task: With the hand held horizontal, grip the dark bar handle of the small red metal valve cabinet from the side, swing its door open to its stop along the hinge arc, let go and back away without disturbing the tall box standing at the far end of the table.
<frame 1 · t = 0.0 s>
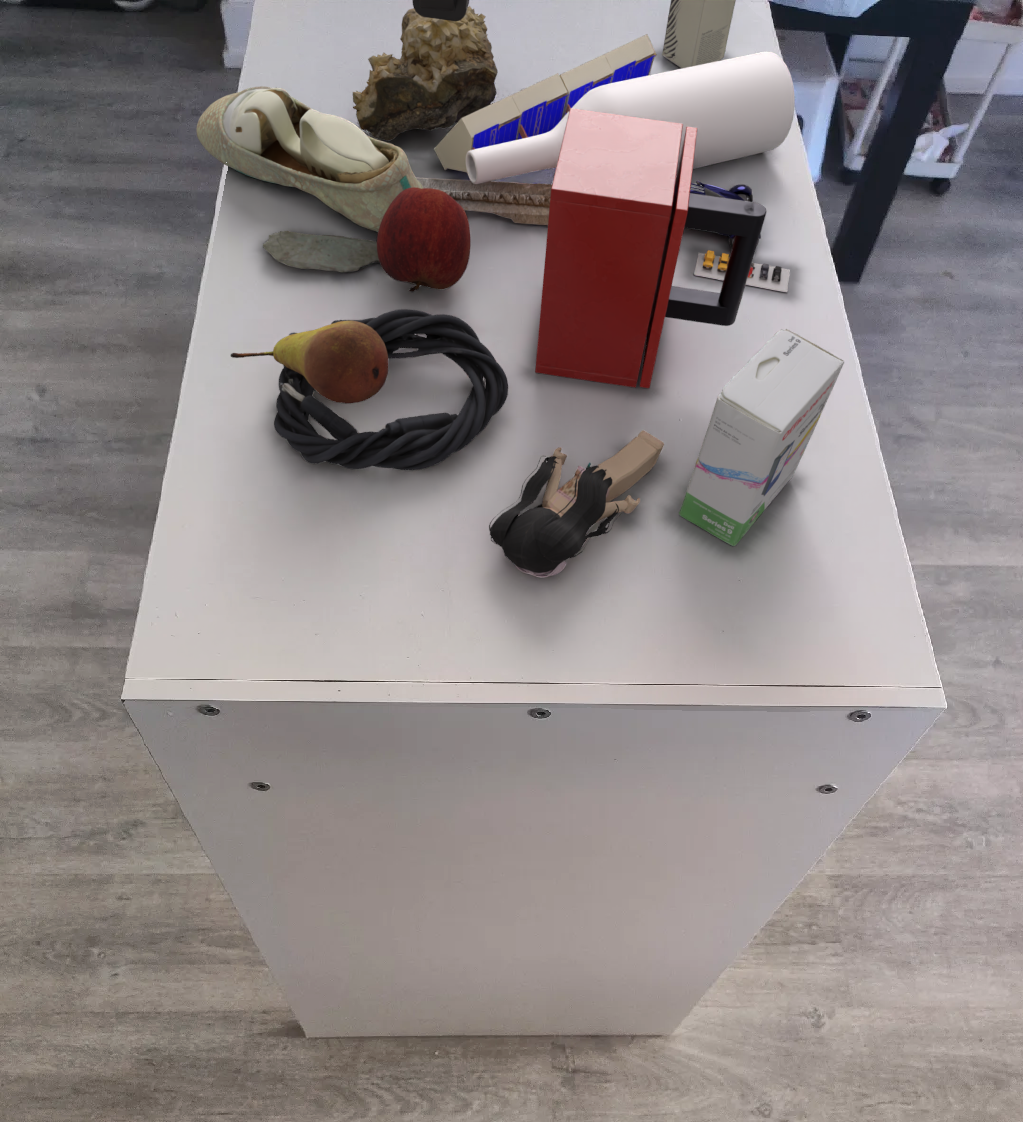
fruit: (378, 369, 69), point 7 cm above the table, touching cable
toy figure: (575, 516, 73), on the table
toy car: (691, 228, 90), on the table
cable: (393, 413, 77), on the table, touching fruit
fossil: (497, 204, 91), on the table, touching ballet flat, building
ballet flat: (318, 173, 91), point 1 cm above the table, touching fossil
bottle: (771, 100, 94), point 4 cm above the table
box: (691, 60, 105), on the table
ink box: (735, 500, 75), on the table
apple: (425, 284, 85), on the table
door: (702, 269, 75), point 8 cm above the table, hinge at 0.0°
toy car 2: (741, 273, 88), on the table
valve cabinet: (592, 339, 82), on the table
stone: (335, 234, 87), on the table
building: (541, 86, 94), point 4 cm above the table, touching fossil
mineral specimen: (425, 113, 97), on the table
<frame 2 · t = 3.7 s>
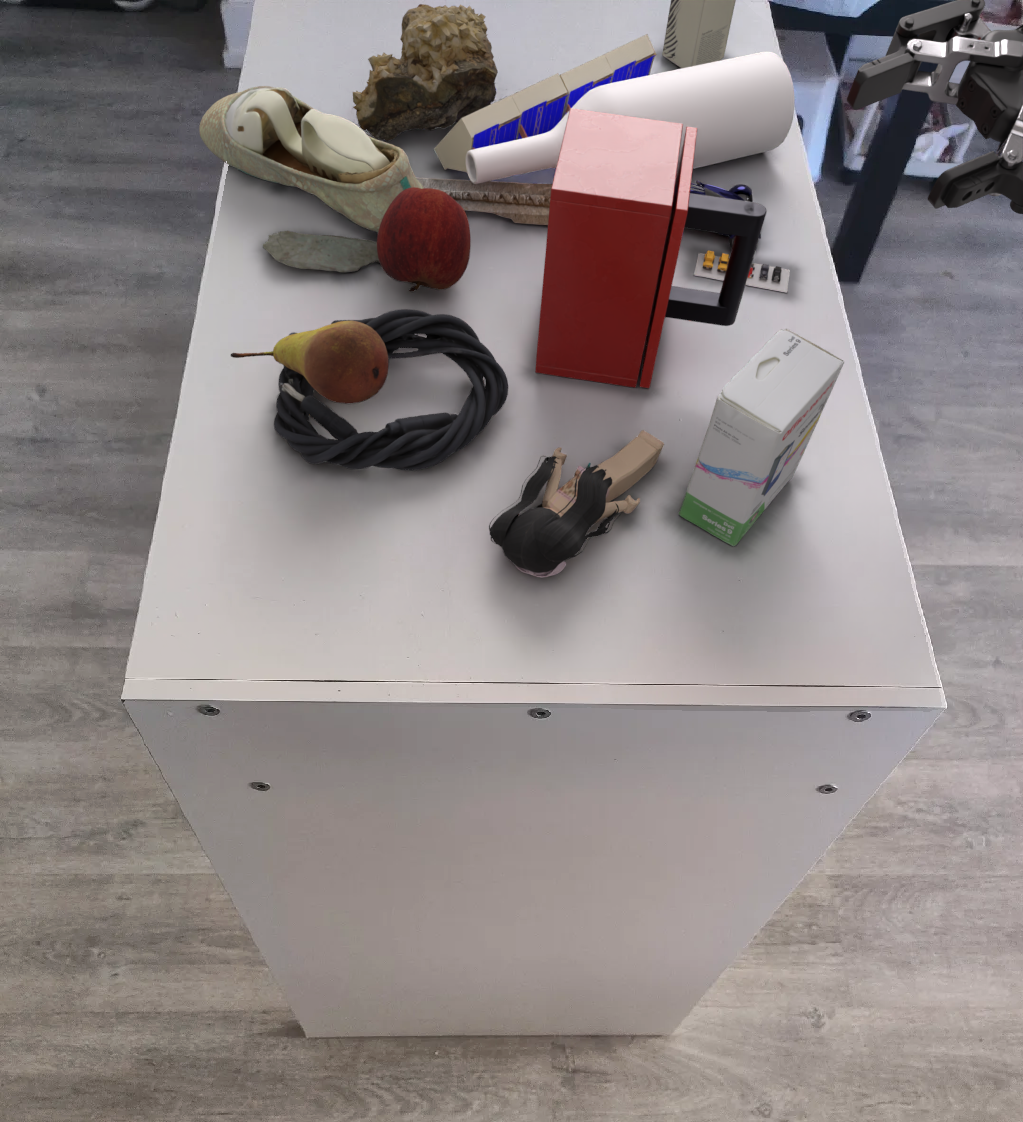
hand: (894, 141, 60), 22 cm above the table, tool horizontal, fingers open, 8 cm apart
nothing on the table moved.
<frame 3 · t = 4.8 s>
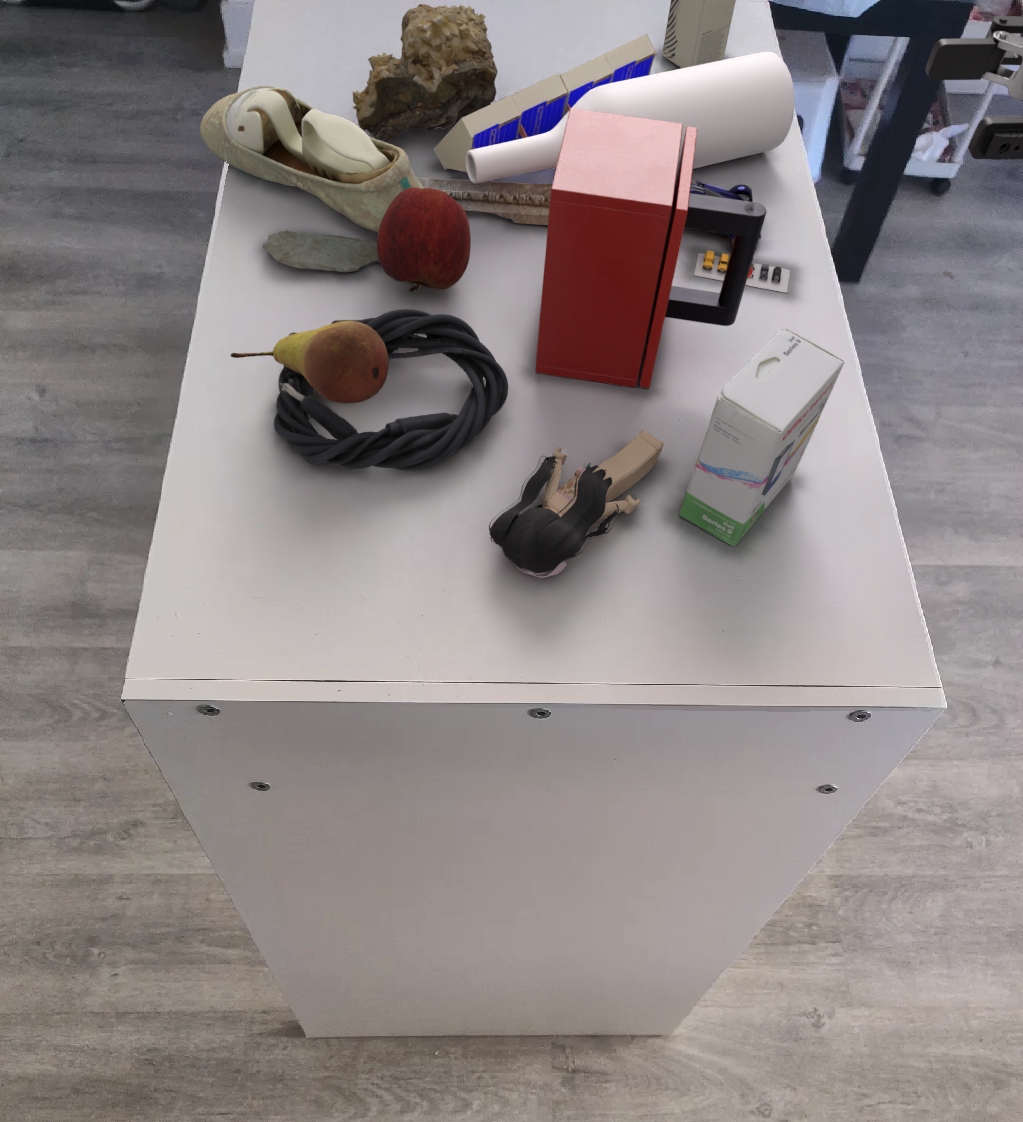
hand: (952, 97, 63), 22 cm above the table, tool horizontal, fingers open, 8 cm apart
nothing on the table moved.
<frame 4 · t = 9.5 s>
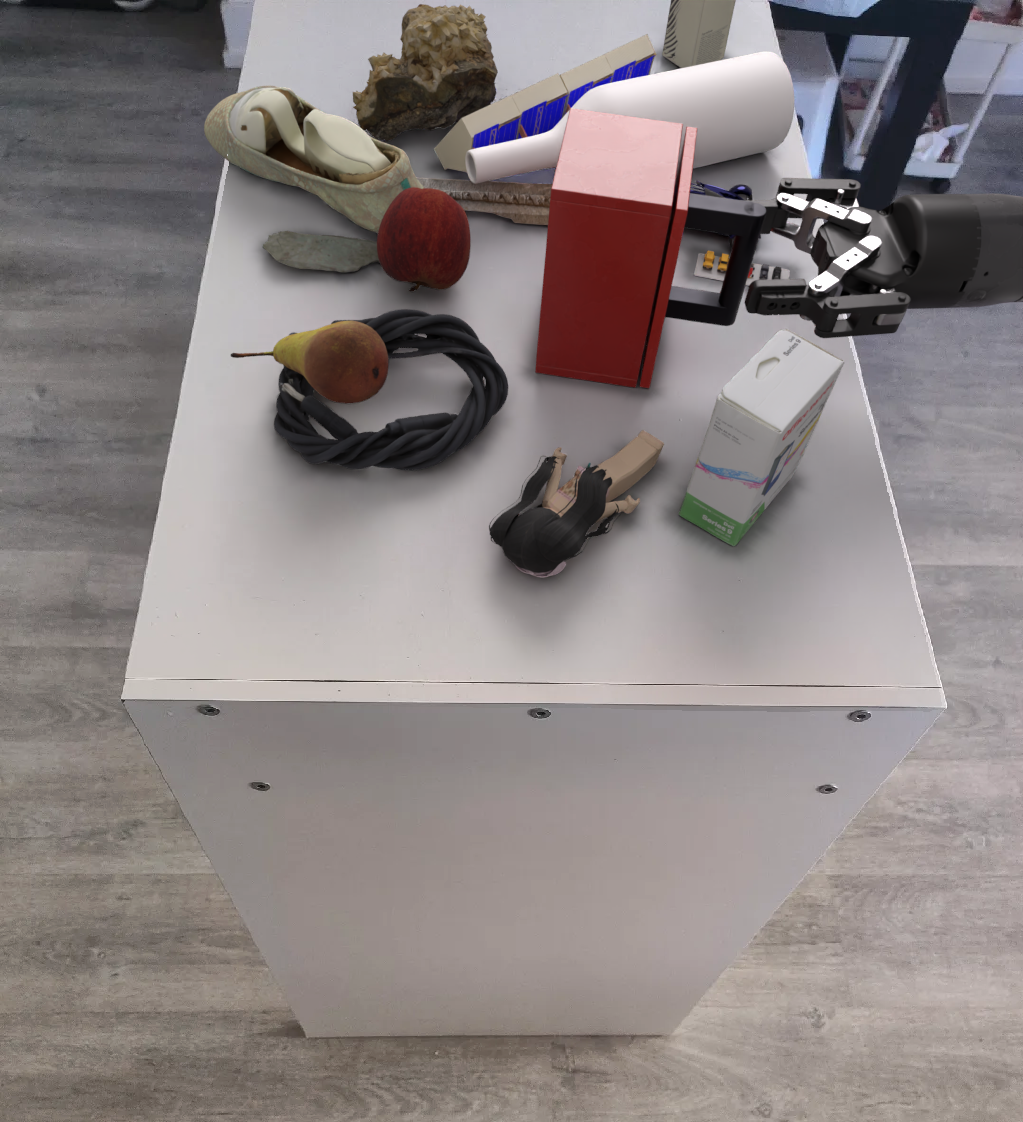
hand: (735, 256, 71), 11 cm above the table, tool horizontal, fingers open, 8 cm apart
nothing on the table moved.
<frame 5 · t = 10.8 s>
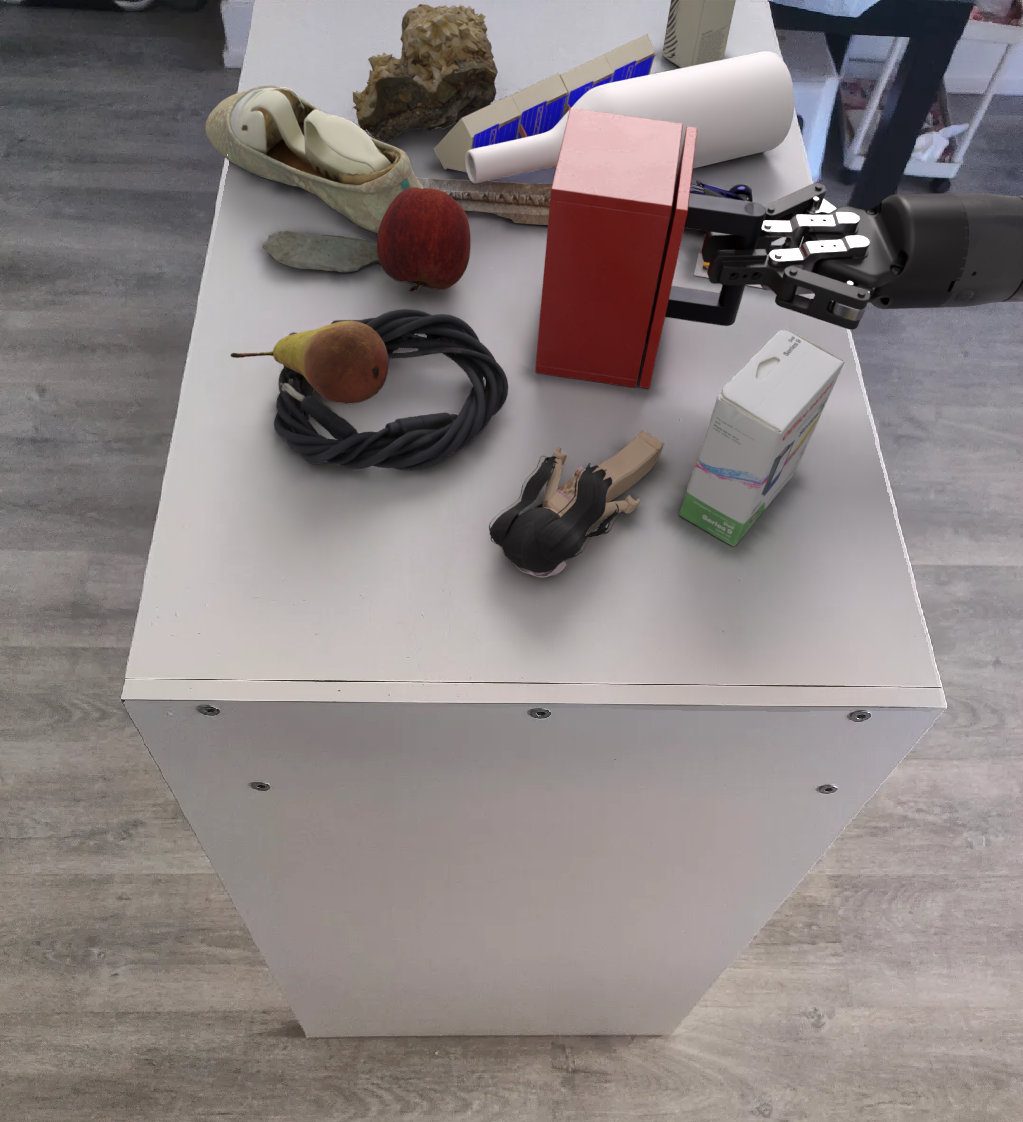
hand: (708, 256, 71), 11 cm above the table, tool horizontal, fingers closed on door
door: (702, 269, 75), point 8 cm above the table, hinge at 0.0°, touching gripper
everything else where it was.
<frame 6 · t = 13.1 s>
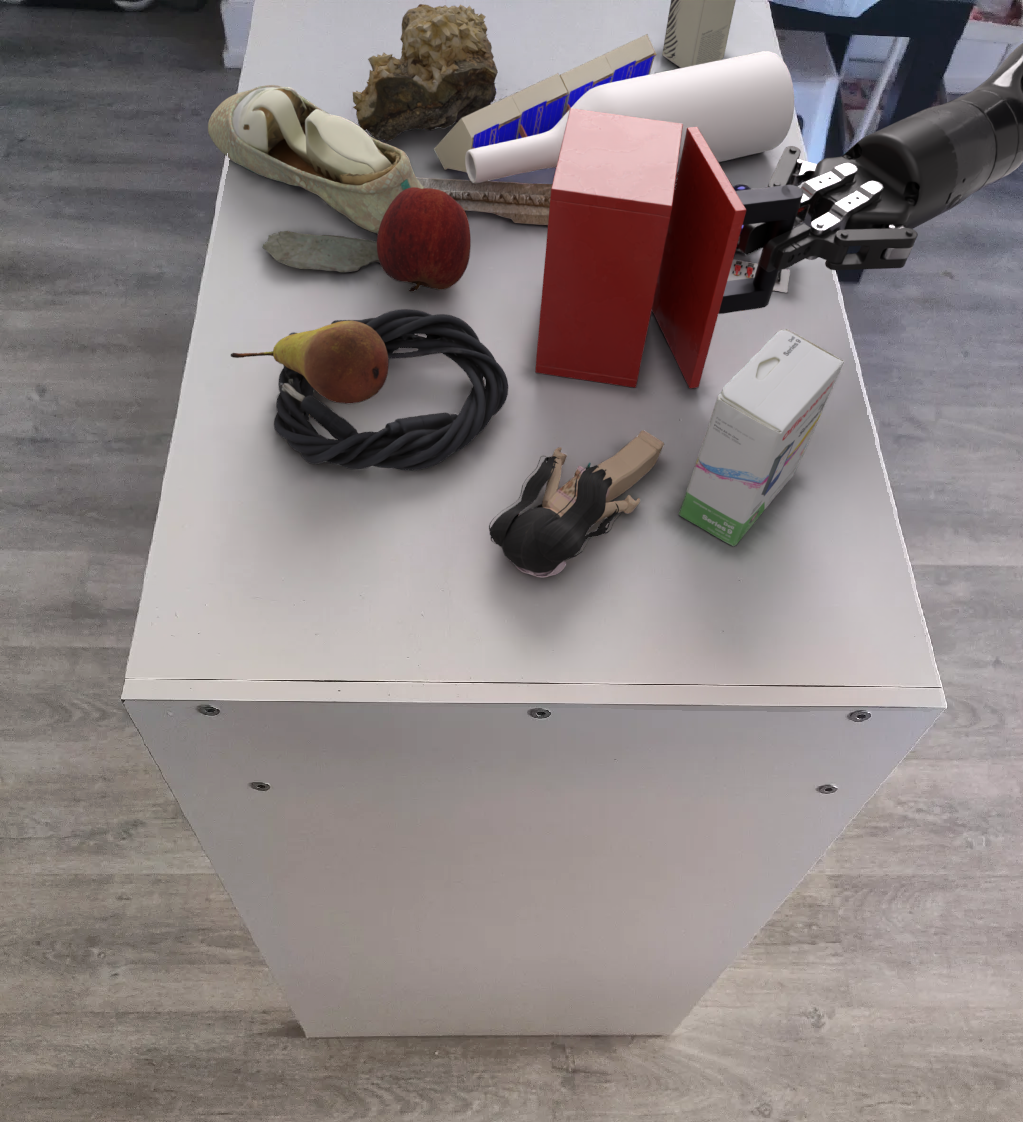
hand: (755, 248, 72), 11 cm above the table, tool horizontal, fingers closed on door
door: (726, 260, 76), point 8 cm above the table, hinge at 23.7°, touching gripper
everything else where it was.
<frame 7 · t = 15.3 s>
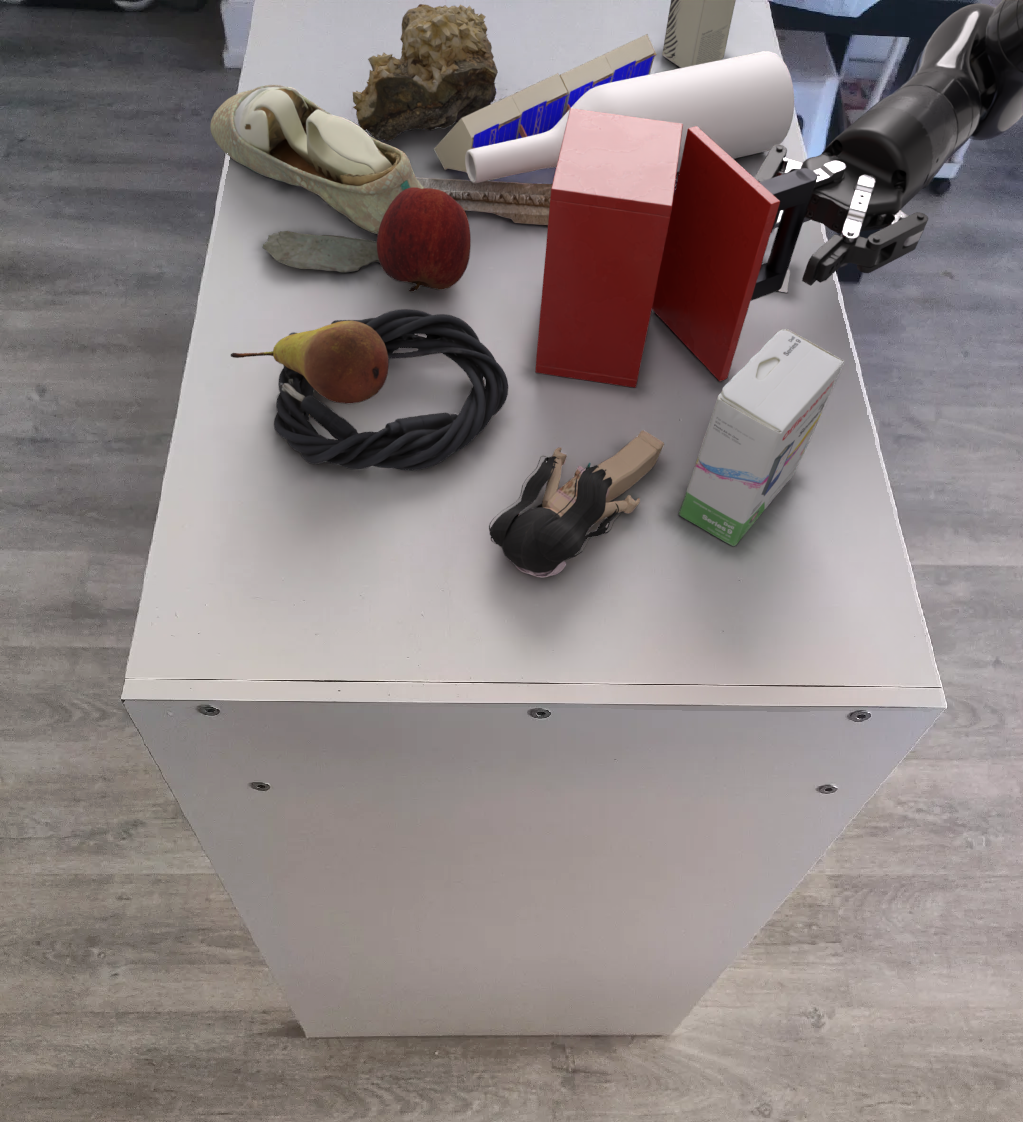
hand: (778, 255, 74), 9 cm above the table, tool horizontal, fingers open, 4 cm apart
door: (737, 250, 77), point 8 cm above the table, hinge at 39.4°
everything else where it was.
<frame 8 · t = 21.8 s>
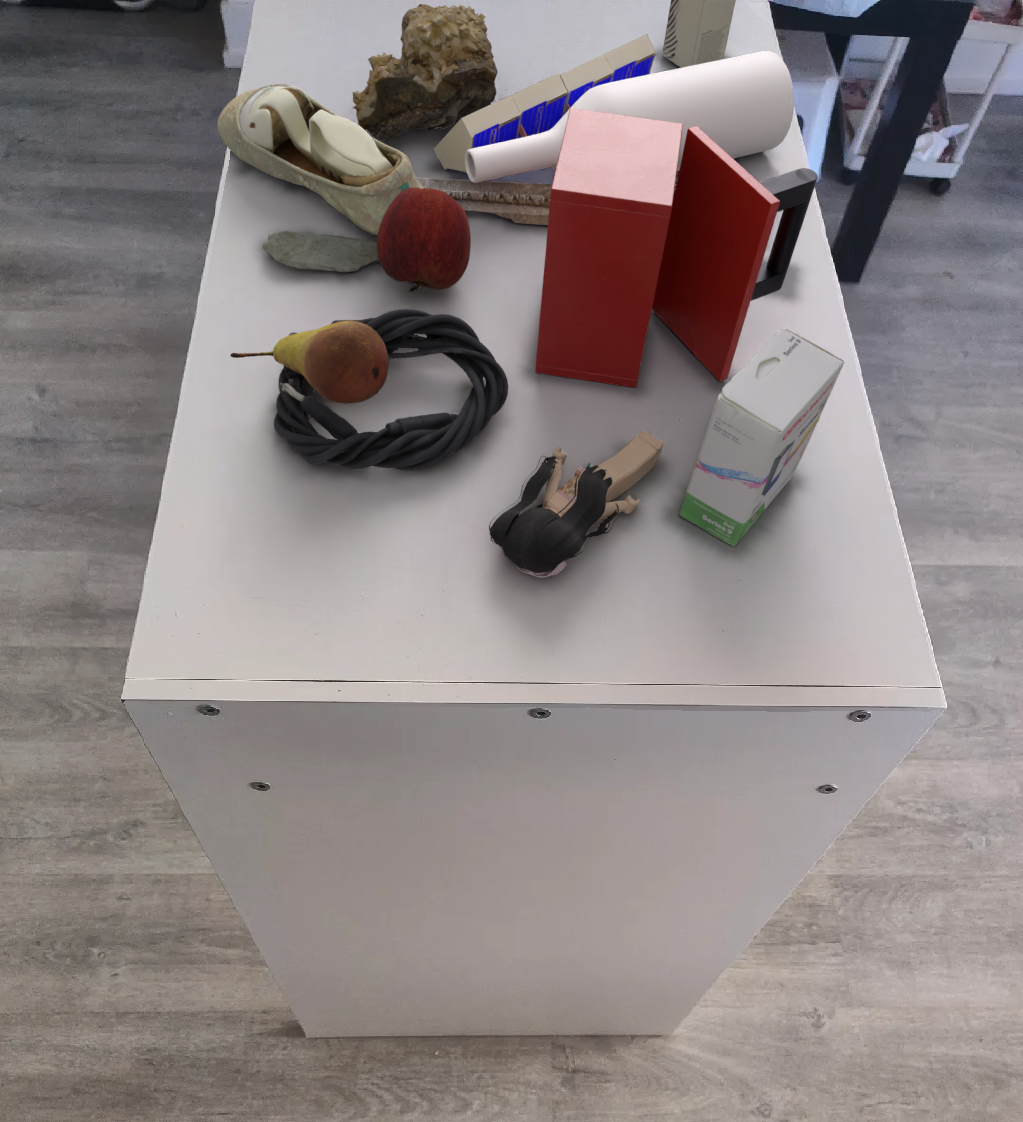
fossil: (497, 204, 91), on the table, touching building
ballet flat: (331, 174, 91), point 1 cm above the table
everything else where it was.
at the end: door at +39° (first picture: +0°); box moved 0.2 cm from its start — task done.
